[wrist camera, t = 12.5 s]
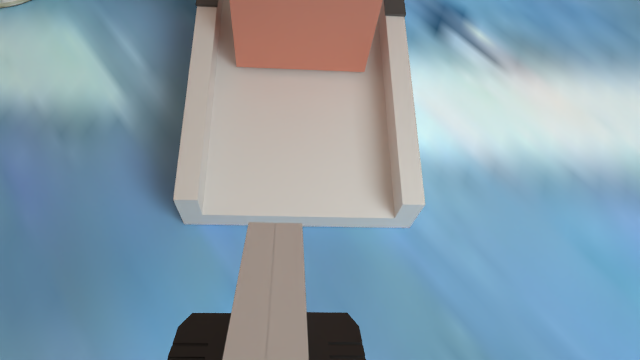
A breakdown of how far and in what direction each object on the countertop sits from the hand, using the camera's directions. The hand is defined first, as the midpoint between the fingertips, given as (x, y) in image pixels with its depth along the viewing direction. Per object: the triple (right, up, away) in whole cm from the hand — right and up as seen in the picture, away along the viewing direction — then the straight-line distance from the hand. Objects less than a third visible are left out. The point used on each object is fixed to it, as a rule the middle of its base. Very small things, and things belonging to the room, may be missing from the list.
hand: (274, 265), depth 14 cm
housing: (0, +10, +19) cm, 22 cm away
